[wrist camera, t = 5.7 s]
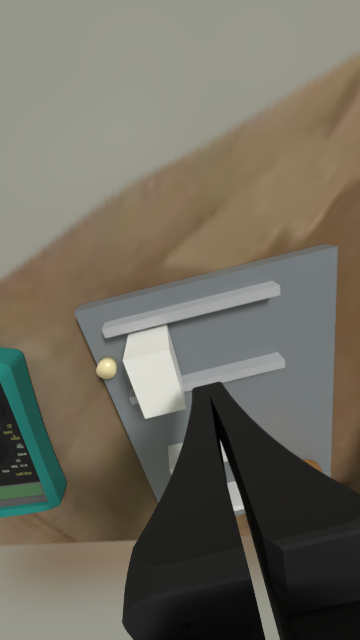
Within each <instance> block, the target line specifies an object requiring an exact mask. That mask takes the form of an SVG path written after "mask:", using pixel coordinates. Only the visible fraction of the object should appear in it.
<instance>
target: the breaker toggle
mask: <svg viewBox="0 0 360 640" xmlns="http://www.w3.org/2000/svg"><path fill="white" fill-rule="evenodd" d="M123 363H124V366H125V368H126V371H127V373H128V376H129V379H130V381H131V384H132V386H133V389H134V392H135V394H136V397H137V399H138V402H139V404H140V407H141V410H142V412H143V415H144V417H145V419H147V418H151V417H155V416H159V415H163V414H167V413H171V412H176V411H180V410H184V409H186V403H185V397H184V390H183V384H182V377H181V373H180V369H179V366H178V362H177V358H176V355H175V351H174V348H173V344H172V340H171V337H170V333H169V330H168V326H167V323H166V324H162V325H157V326H153V327H149V328H145V329H141V330H137V331H133V332H129V333H128V338H127V343H126V348H125V352H124V357H123Z"/></svg>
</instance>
